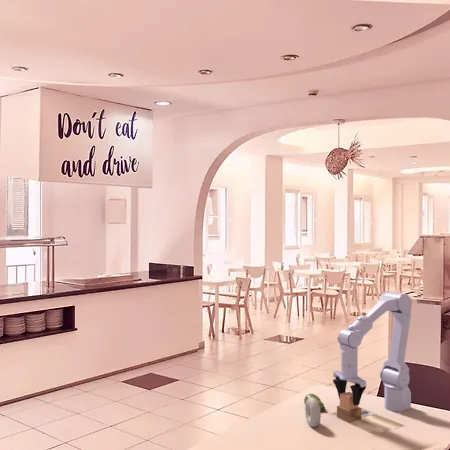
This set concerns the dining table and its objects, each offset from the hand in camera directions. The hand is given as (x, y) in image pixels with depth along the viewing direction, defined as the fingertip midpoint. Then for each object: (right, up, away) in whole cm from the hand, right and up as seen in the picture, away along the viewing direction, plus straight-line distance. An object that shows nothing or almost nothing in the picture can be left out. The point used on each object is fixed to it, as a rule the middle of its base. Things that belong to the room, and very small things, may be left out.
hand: (349, 401), depth 197 cm
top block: (0, -2, 0) cm, 2 cm away
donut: (-14, -7, -6) cm, 17 cm away
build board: (+6, -7, -1) cm, 9 cm away
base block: (0, -6, 0) cm, 6 cm away
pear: (-10, -7, +11) cm, 17 cm away
